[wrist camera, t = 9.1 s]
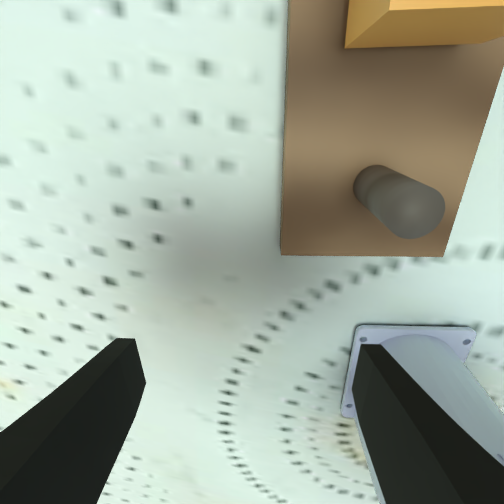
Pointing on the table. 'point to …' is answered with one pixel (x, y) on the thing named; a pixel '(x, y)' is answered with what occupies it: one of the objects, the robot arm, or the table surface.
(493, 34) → the wooden toy cube
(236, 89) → the table surface
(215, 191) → the table surface
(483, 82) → the wooden peg board
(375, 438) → the robot arm
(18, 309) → the table surface
